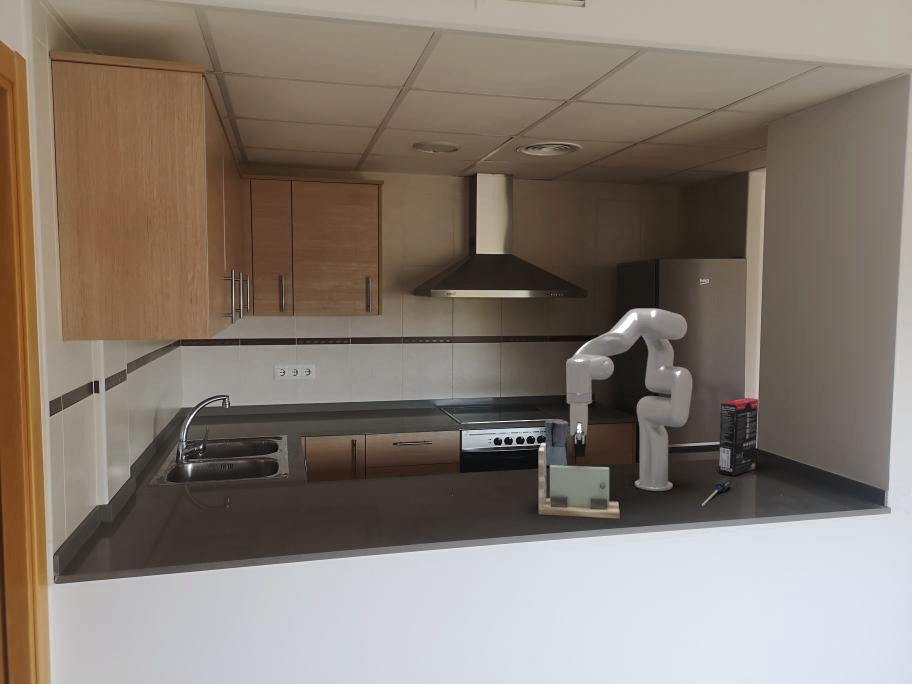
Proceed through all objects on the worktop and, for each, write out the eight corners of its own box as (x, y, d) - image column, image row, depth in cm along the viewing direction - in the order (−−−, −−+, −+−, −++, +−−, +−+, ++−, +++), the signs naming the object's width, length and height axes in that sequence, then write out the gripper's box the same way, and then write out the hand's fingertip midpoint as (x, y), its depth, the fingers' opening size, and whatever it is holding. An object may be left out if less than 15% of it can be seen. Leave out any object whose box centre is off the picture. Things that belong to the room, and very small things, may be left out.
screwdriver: (707, 507, 206) (708, 495, 206) (696, 505, 209) (696, 493, 208) (732, 488, 227) (732, 478, 226) (721, 486, 229) (721, 476, 229)
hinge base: (541, 502, 212) (541, 442, 211) (618, 506, 208) (618, 445, 206) (538, 514, 201) (538, 451, 200) (619, 518, 196) (619, 453, 195)
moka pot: (570, 461, 267) (570, 412, 266) (566, 470, 252) (566, 419, 251) (546, 460, 270) (546, 411, 268) (541, 469, 255) (541, 418, 254)
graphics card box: (740, 466, 256) (741, 396, 255) (757, 469, 251) (759, 398, 249) (717, 473, 245) (718, 401, 244) (736, 477, 240) (737, 403, 238)
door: (550, 502, 207) (550, 465, 207) (608, 505, 204) (609, 467, 203) (549, 506, 204) (549, 468, 203) (609, 509, 200) (609, 470, 199)
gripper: (567, 393, 211) (568, 445, 213) (565, 402, 195) (566, 459, 196) (591, 393, 210) (592, 446, 211) (591, 402, 193) (592, 460, 194)
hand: (580, 452), depth 204 cm, fingers open, 9 cm apart
